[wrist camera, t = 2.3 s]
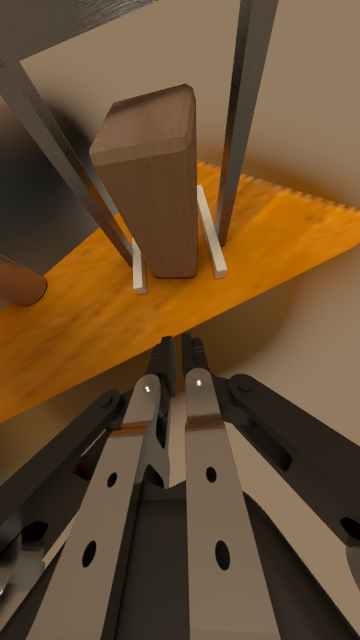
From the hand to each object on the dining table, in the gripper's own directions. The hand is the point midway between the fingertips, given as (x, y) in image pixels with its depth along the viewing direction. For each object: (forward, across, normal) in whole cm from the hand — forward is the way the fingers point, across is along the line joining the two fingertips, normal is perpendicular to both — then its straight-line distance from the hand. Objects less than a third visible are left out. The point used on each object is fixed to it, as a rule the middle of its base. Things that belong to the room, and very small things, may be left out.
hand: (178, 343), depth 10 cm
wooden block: (+26, 0, -5) cm, 27 cm away
